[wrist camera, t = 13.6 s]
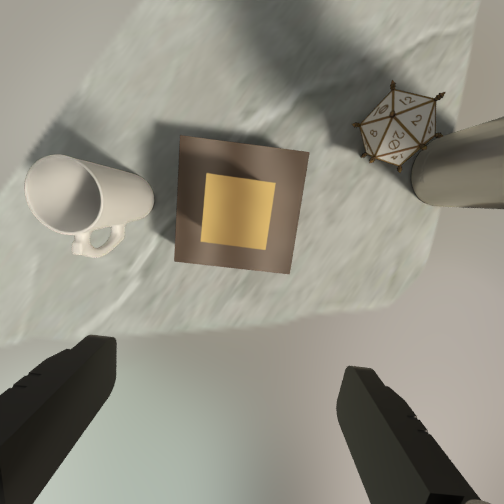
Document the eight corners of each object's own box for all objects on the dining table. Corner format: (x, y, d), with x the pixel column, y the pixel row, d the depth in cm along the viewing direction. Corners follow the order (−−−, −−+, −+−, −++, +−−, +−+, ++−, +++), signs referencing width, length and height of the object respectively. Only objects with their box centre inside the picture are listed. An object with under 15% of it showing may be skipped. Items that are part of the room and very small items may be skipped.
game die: (372, 155, 35) (417, 194, 28) (327, 140, 31) (367, 179, 25) (421, 87, 29) (493, 115, 22) (372, 59, 25) (440, 82, 19)
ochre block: (269, 186, 26) (275, 182, 20) (262, 239, 27) (265, 250, 21) (216, 179, 26) (206, 173, 20) (211, 232, 27) (200, 241, 21)
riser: (298, 161, 31) (309, 152, 25) (282, 261, 34) (289, 274, 28) (193, 147, 30) (180, 135, 25) (187, 250, 34) (174, 261, 28)
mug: (107, 167, 31) (20, 148, 19) (157, 174, 31) (102, 160, 20) (107, 241, 33) (29, 264, 21) (154, 247, 33) (103, 273, 22)
